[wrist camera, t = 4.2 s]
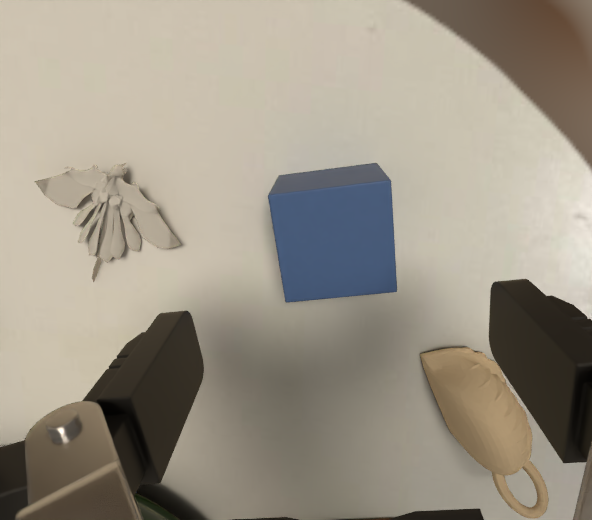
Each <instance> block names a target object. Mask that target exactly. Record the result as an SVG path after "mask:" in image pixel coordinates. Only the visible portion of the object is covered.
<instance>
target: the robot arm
mask: <svg viewBox="0 0 592 520" xmlns="http://www.w3.org/2000/svg"><path fill="white" fill-rule="evenodd" d="M489 342H490V348H491V351H492V354H493V357H494V359H495V360H496V362H497V363H498V365H499V366H500V368H501V370H502V371H503V373H504V374H505V376H506V377H507V379H508V380H509V382H510V383H511V385H512V386H513V388H514V389H515V391H516V392H517V394H518V395H519V397H520V398H521V400H522V401H523V403H524V404H525V406H526V407H527V409H528V410H529V412H530V413H531V415H532V416H533V418H534V419H535V421H536V422H537V424H538V425H539V427H540V428H541V430H542V431H543V433H544V434H545V436H546V437H547V439H548V440H549V442H550V443H551V445H552V446H553V448H554V449H555V451H556V452H557V454H558V456H559V457H560V459H561V460H562V462H563V463H577V462H587V463H586V467H585V471H584V475H583V480H582V484H581V488H580V492H579V497H578V501H577V505H576V509H575V513H574V518H573V520H592V320H591V319H587V316H586V315H585V314H583V313H582V312H581V311H580V310H579V309H577V308H576V307H575V306H574V305H572V304H570V303H567V302H565V301H563V300H561V299H558V298H556V297H554V296H546V295H545V294H544V293H542V292H541V291H540V290H539V289H538V288H537V287H536V286H534V285H533V284H532V283H531V282H530V281H529V280H527V279H519V280H509V281H498V282H494V283H493V284H492V287H491V296H490V320H489ZM203 373H204V365H203V358H202V354H201V350H200V346H199V342H198V338H197V334H196V330H195V327H194V323H193V319H192V316H191V314H190V313H189V312H188V311H179V312H169V313H160V314H159V315H158V316H157V317H156V319H155V320H154V321H153V323H152V324H151V326H150V327H149V328H148V330H147V331H146V332H143V333H141V334H139V335H138V336H137V337H135V338H134V339H133V340H131V341H130V342H128V343H127V344H126V345H125V347H124V348H123V349H122V350H121V352H120V353H119V354H118V356H117V359H114V361H113V362H112V363H111V365H110V366H109V369H107V370H106V371H105V372H104V374H103V375H102V376H101V377H100V379H99V380H98V381H97V383H96V384H95V385H94V387H93V388H92V389H91V390H90V392H89V393H88V394H87V396H86V397H85V398H84V399H83V401H81V402H75V403H71V404H68V405H65V406H63V407H60V408H58V409H56V410H54V411H52V412H51V413H49V414H47V415H46V416H45V417H43V418H42V419H41V420H39V421H38V422H37V423H36V424H35V425H34V426H33V427H32V428H31V429H30V431H29V432H28V434H27V436H26V438H25V440H24V441H21V442H17V443H14V444H11V445H7V446H4V447H0V520H143V517H142V514H141V511H140V509H139V506H138V503H137V501H136V498H135V494H136V492H137V489H138V487H139V485H140V484H157V483H161V480H162V478H163V475H164V473H165V470H166V468H167V466H168V463H169V461H170V458H171V456H172V453H173V451H174V449H175V446H176V444H177V441H178V439H179V436H180V434H181V431H182V429H183V427H184V424H185V422H186V419H187V417H188V414H189V412H190V409H191V407H192V405H193V402H194V400H195V397H196V395H197V392H198V390H199V388H200V385H201V383H202V379H203ZM234 520H297V519H293V518H288V517H280V518H257V519H234ZM389 520H484V519H483V516H482V514H481V511H480V509H460V510H438V511H415V512H412V513H408V514H405V515H402V516H399V517H395V518H392V519H389Z"/></svg>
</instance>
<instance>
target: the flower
mask: <svg viewBox="0 0 592 520" xmlns="http://www.w3.org/2000/svg"><path fill="white" fill-rule="evenodd" d="M125 164H126V163H125ZM125 164H122V165H115V166H114V167H113V168H112V169H111V172H110V174H108V172H107V174H105V173H102V172H101V171H99V170H98V169H97V168H98V167H97V165H93V168H91V169H88V170H77V169H75V168H72V167H66V168H71V170H70V171H68V172H66V173H64V174H62V175H58V176H55V177H51V178H47V179H43V180H38V181H35V183H36V184H37V185H38V187H39V188H40V189H41V191H42V192H43V193H44V195H45V196H46V197H48V198H49V199H50V200H51V201H53V202H54V203H55V204H57V205H61V206H66V207H70V208H76V207H77V206H78V204H79V203H80V202H81V201H82V199H83V198H84V197H86V196H87V195H88V194H90V193H91V192H92V194H91V198H92V201H93V202H94V203H93V204H92V205H91V206H89V207H88V208H86V209H84V210H82V211H81V212H80V213H79V214H78V215H77V217H76V218H75V220H74V222H73V224H74V225H75V226H78V225H80V224H81V223H82V222H83V221H84V219H85V218H86V216H87V215H88V213H89V211H90V210H92V209H93V208H94V207H95V212H94V214H93V216H92V217H91V219H90V220H89V222H88V223H87V224H86V226H85V227H84V228H83V230H82V232H81V234H80V237H79V240H78V243H82V242H83V241H84V240H85V238H86V237H87V235H88V233H89V230H90V227H91V224H92V221H93V219H94V218H95V216H96V214H97V212H98V211H99V209H100V207H101V205H102V203H103V202H104V204H103V207H102V210H101V213H100V216H99V220H98V223H97V226H96V228H95V230H94V232H93V234H92V236H91V237H90V239H89V243H88V249H89V255H94V254H95V253H96V250H97V244H98V237H99V230H100V227H101V223H102V220H103V218H104V220H103V225H102V230H101V236H100V241H99V246H98V252H97V257H98V259H97V261H96V264H95V267H94V270H93V276H92V279H93V282H94V281H95V278H96V276H97V274H98V271H99V267H100V264H101V259H102V260H104V261H105V262H107V263H108V262H109V261H110V260H111V259H112V258H113V257H114V258H116V259H118V260H119V258H120V257H121V255H122V253H123V252H124V248H125V242H124V239H123V236H122V232H121V229H120V214H121V217H122V220H123V223H124V227H125V234H126V240H127V244H128V247H129V248H130V249H131V250H133V251H139V250H140V245H141V238H140V235H139V233H138V232H137V231H136V229H135V228H134V227H133V225H132V224H131V222H130V220H131V218H132V217H133V216H134V215H135V217H136V219H137V222H138V225H139V229H140V232H141V236H142V238H144V239H145V240H147V241H148V242H150V243H151V244H153V245H154V246H156V247H157V248H167V249H170V248H173V247H176V246H178V245H181V244H180V242H179V241H178V240H177V238H176V237H175V236H174V235H173V233H172V232H171V231H170V229H169V228H168V227H167V225H166V224H165V222H164V221H163V220H162V218H161V216H160V215H159V213H158V211H157V210H156V207H155V206H157V205H156V204H154V203H152V202H150V201H148V200H147V199H146V198H145V197H144V196H143V195H142V194H141V192H140V191H139V189H138V184H137V183H136V182H133V183H132V184H135V185H130V184H127V183H125V182H124V181H123V176H124V174H125V173H126V171H127V170H126V169H127V168H124V169H122V167H123V166H124V165H125ZM123 172H125V173H123ZM157 207H158V206H157ZM158 208H159V207H158ZM159 209H160V208H159ZM113 219H114V233H113ZM97 257H96V258H97ZM100 257H101V258H100Z"/></svg>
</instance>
